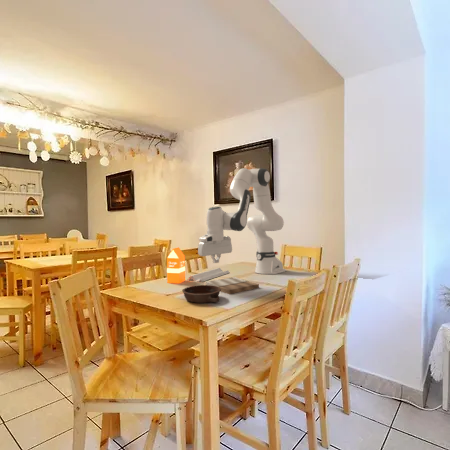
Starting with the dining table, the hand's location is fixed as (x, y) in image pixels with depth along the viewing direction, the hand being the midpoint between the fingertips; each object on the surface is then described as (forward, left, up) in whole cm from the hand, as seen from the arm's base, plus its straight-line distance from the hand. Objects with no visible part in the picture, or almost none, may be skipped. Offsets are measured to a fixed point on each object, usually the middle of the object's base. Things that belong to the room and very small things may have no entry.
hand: (216, 262), depth 158 cm
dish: (+18, +14, -14) cm, 27 cm away
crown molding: (-14, -28, -14) cm, 34 cm away
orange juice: (+9, -28, -14) cm, 32 cm away
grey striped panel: (-7, +1, -13) cm, 15 cm away
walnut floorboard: (-7, +11, -13) cm, 19 cm away
